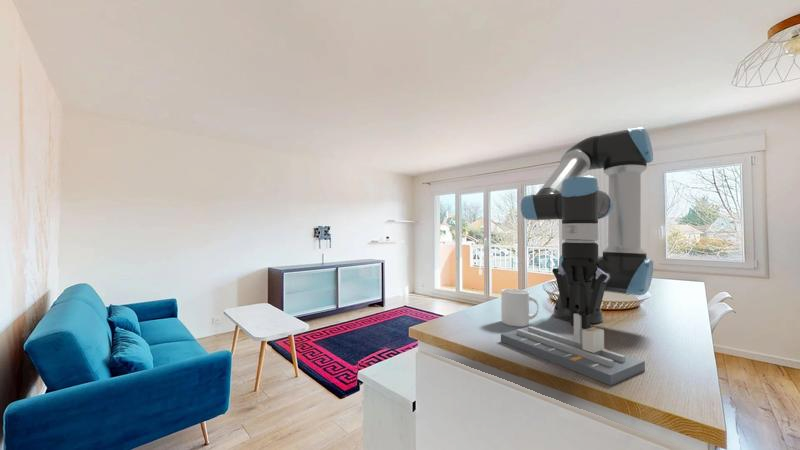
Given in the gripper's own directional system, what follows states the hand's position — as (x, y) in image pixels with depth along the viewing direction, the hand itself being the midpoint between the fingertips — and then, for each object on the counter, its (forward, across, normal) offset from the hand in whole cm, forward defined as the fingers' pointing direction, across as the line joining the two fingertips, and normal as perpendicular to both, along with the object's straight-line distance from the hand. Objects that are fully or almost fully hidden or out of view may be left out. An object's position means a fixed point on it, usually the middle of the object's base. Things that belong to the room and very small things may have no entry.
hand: (580, 341), depth 73 cm
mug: (+5, -27, +12) cm, 30 cm away
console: (+4, -4, 0) cm, 6 cm away
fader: (+2, +3, 0) cm, 4 cm away
